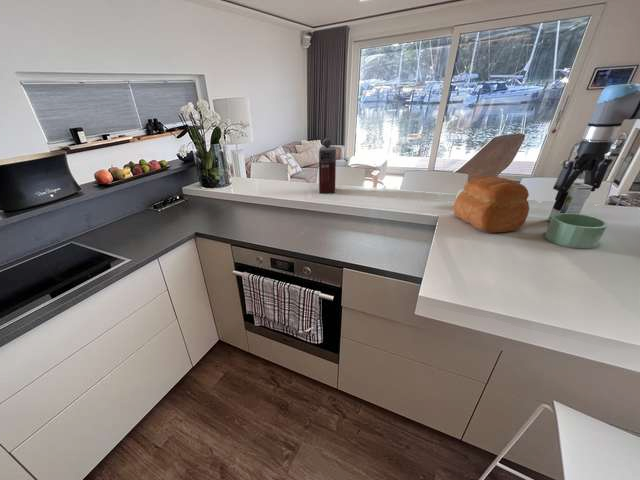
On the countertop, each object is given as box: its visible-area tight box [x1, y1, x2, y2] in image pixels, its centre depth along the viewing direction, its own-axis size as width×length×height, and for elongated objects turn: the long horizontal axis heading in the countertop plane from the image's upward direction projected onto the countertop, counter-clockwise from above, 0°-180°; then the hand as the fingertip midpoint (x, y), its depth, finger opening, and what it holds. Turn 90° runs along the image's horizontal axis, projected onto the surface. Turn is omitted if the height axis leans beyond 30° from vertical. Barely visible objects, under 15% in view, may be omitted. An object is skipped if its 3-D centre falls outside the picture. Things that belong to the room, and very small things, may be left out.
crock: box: [544, 213, 609, 250], centre depth 93 cm, size 13×13×7 cm
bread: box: [453, 175, 530, 234], centre depth 107 cm, size 18×21×17 cm
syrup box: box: [547, 181, 593, 222], centre depth 103 cm, size 6×6×14 cm
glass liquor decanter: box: [318, 138, 337, 195], centre depth 156 cm, size 9×11×28 cm
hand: (566, 208), depth 104 cm, fingers closed on syrup box, 6 cm apart
